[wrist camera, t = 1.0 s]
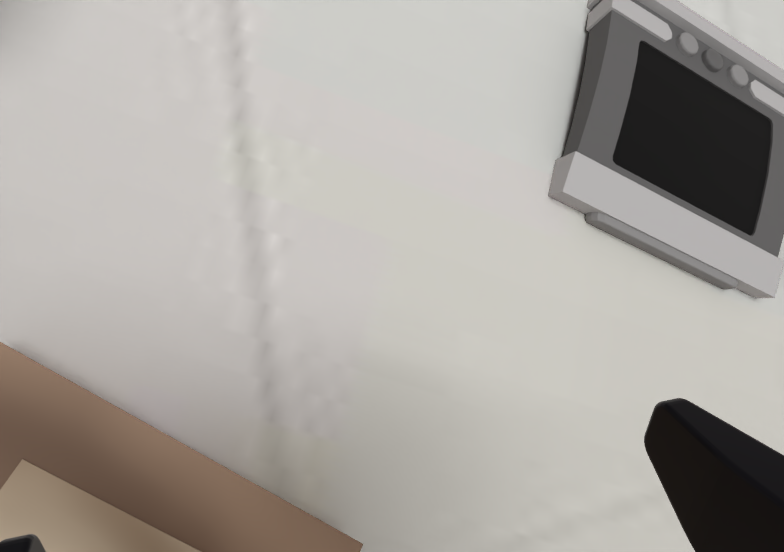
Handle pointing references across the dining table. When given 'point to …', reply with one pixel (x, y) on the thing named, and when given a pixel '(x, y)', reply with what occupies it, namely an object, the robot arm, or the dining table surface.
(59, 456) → the walnut stand
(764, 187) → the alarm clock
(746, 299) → the dining table surface
